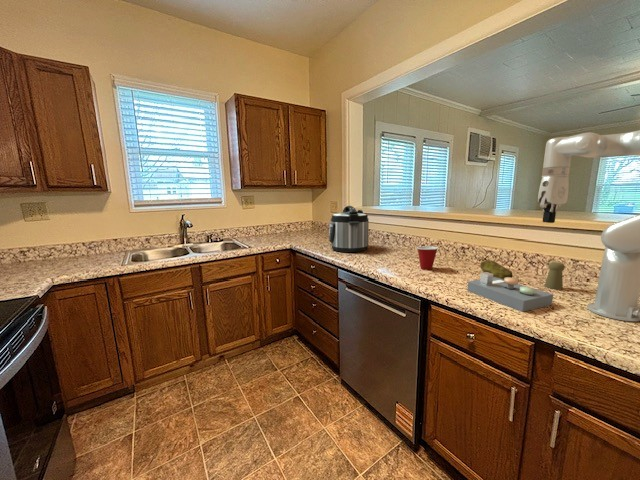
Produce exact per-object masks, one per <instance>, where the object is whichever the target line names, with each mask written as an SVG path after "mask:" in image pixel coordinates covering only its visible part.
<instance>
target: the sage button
mask: <svg viewBox="0 0 640 480" xmlns="http://www.w3.org/2000/svg"><path fill="white" fill-rule="evenodd" d="M535 289H536V288H534V289H533V287H529V286H527V287H520V292H521V293H523V294H524V295H527V296H530V295H534V294H535Z"/></svg>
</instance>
